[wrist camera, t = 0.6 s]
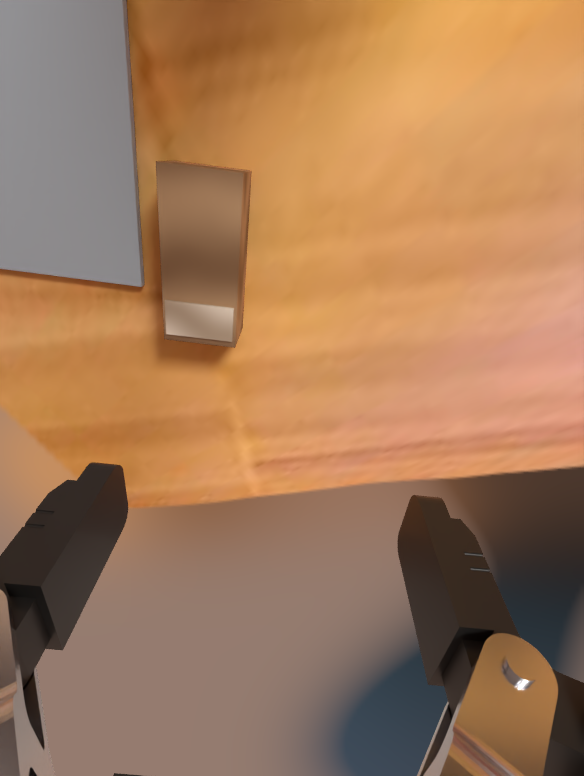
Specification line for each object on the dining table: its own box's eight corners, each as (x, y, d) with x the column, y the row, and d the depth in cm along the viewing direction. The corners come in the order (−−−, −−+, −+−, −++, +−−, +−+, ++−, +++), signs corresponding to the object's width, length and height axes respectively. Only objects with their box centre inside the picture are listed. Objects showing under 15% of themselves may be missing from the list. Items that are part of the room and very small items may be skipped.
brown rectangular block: (175, 160, 26) (154, 161, 23) (251, 170, 26) (242, 172, 23) (180, 319, 32) (163, 340, 28) (243, 326, 32) (234, 348, 28)
